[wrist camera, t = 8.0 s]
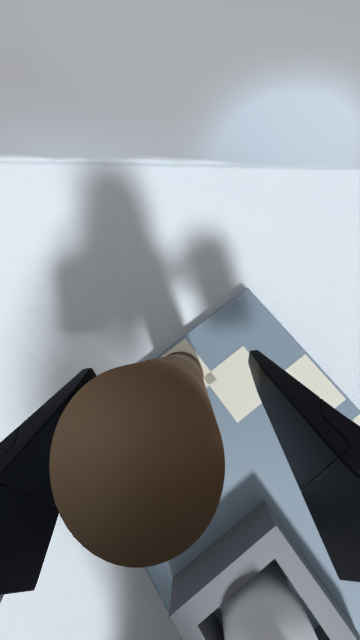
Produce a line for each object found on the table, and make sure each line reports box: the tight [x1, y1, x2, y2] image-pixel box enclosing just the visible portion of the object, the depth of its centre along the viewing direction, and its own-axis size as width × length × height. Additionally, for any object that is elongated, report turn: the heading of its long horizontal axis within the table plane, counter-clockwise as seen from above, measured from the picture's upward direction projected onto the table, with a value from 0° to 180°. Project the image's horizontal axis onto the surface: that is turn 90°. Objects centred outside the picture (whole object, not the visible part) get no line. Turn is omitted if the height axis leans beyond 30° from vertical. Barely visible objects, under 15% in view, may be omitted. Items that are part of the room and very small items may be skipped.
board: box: [145, 288, 360, 640], centre depth 13 cm, size 21×24×3 cm
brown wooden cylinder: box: [49, 351, 225, 567], centre depth 10 cm, size 4×4×12 cm
